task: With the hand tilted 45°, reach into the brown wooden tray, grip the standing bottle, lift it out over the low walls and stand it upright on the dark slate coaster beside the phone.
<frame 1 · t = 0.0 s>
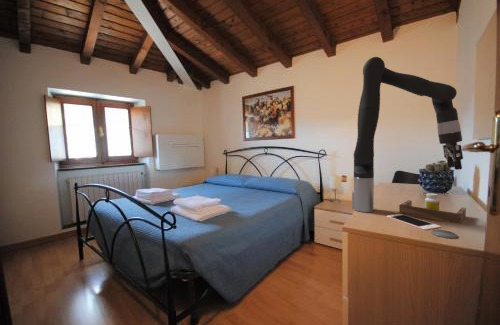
hand: (454, 168, 98), 22 cm above the table, tool pointing down, fingers open, 8 cm apart
slate coaster: (444, 234, 83), on the table
cell phone: (411, 223, 97), on the table
brown wooden tray: (431, 214, 105), on the table
supplement bottle: (431, 214, 106), on the table
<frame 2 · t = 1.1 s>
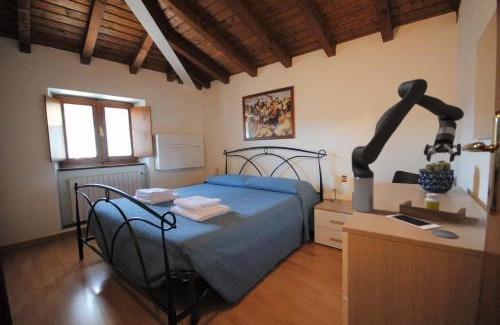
hand: (439, 160, 111), 25 cm above the table, tool tilted 45°, fingers open, 8 cm apart
nothing on the table moved.
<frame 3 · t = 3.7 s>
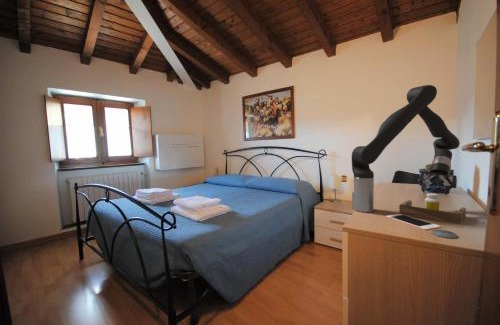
hand: (434, 192, 108), 10 cm above the table, tool tilted 45°, fingers open, 8 cm apart
nothing on the table moved.
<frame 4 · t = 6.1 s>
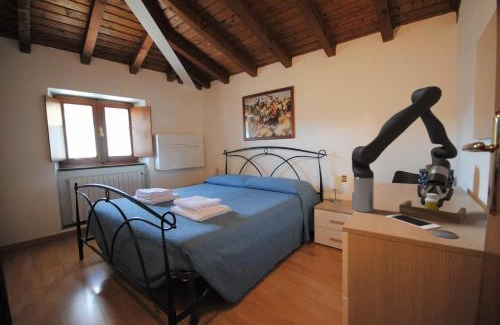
hand: (430, 205, 104), 5 cm above the table, tool tilted 45°, fingers closed on supplement bottle, 5 cm apart
supplement bottle: (431, 214, 106), on the table, touching gripper
everything else where it was.
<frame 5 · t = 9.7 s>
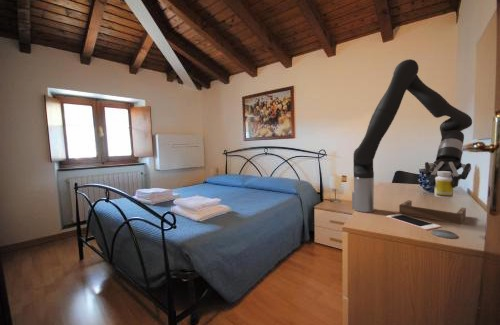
hand: (442, 185, 84), 18 cm above the table, tool tilted 45°, fingers closed on supplement bottle, 5 cm apart
supplement bottle: (443, 197, 86), point 13 cm above the table, touching gripper
everything else where it was.
when the fingers open (7 cm above the table, at t = 13.2 s): supplement bottle drops 1 cm, resting on slate coaster.
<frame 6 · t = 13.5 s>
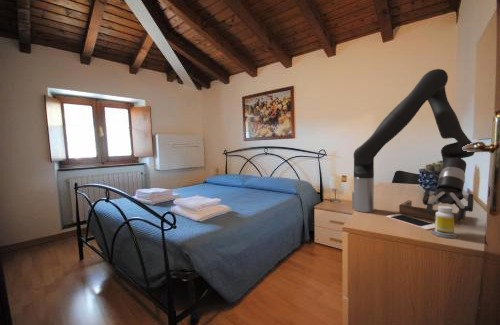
hand: (443, 216, 81), 7 cm above the table, tool tilted 45°, fingers open, 8 cm apart
supplement bottle: (444, 233, 83), resting on slate coaster
everything else where it was.
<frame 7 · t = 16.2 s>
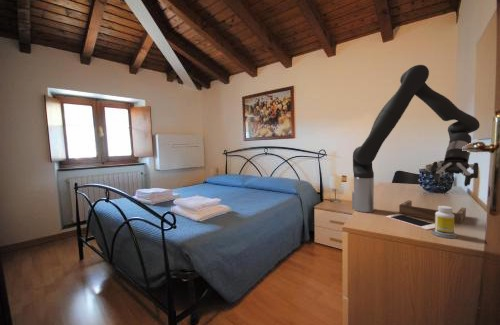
hand: (451, 183, 89), 17 cm above the table, tool tilted 45°, fingers open, 8 cm apart
nothing on the table moved.
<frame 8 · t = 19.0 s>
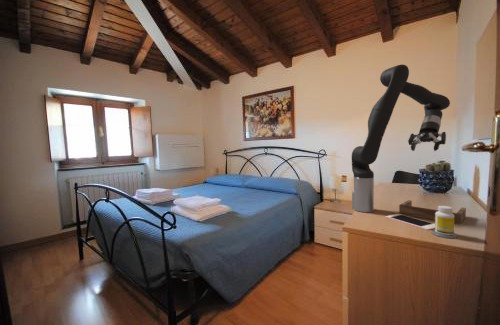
hand: (423, 149, 107), 31 cm above the table, tool tilted 45°, fingers open, 8 cm apart
nothing on the table moved.
at the end: supplement bottle 0.2 cm off-centre on the slate coaster, point 0.4 cm above the slate coaster's base; supplement bottle tilted 0°; the gripper is holding nothing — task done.
